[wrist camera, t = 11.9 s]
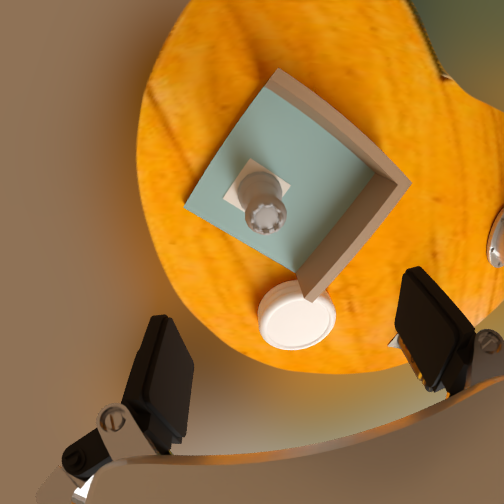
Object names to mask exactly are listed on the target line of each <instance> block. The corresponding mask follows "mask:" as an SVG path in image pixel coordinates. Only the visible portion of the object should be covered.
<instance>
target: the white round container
mask: <svg viewBox="0 0 504 504" xmlns="http://www.w3.org/2000/svg"><path fill="white" fill-rule="evenodd" d="M335 320H336V311H335V307H334V305H333V303H332V300H331V298H330V296H329V294H328V292H327V291H326V290H324V291H323V292H322V293H321V294H320V295H319V296H318V298H317V299H316V300H315V301H314V302H313V303H311V302H309V301H308V300H306V299H304V297H303V294H302V291H301V288H300V285H299V282H298V280H291V281H287V282H283V283H281V284H279V285H277V286H275V287H273V288H272V289H271V290H269V291H268V292H267V293H266V294H265V296H264V297H263V298H262V300H261V302H260V305H259V308H258V323H259V331H260V333H261V335H262V337H263V339H264V340H265V341H266V342H267V343H269V344H270V345H272V346H274V347H276V348H279V349H284V350H299V349H304V348H307V347H310V346H312V345H314V344H316V343H318V342H320V341H321V340H322V339H324V338H325V337H326V336H327V335H328V334H329V332H330V331H331V330H332V328H333V326H334V323H335Z"/></svg>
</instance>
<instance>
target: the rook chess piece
mask: <svg viewBox="0 0 504 504" xmlns="http://www.w3.org/2000/svg"><path fill="white" fill-rule="evenodd" d="M238 200H239V202H240V205H241V207H242V208H243V209H244V210H245V221H246V223H247V225H248V227H249V228H250V229H251V230H253V231H254V232H256V233H259V234H261V235H270V234H272V233H275V232H278V231H279V230H280V229H281V228H282V227H283V225H284V223H285V221H286V219H287V210H286V208H285V205H284V203H283V202H282V188H281V185H280V183H279V181H278V180H277V179H276V178H275V177H274V176H273V175H272V174H269V173H267V172H253V173H251V174H248V175H247V176H246V177H245V178H244V179H243V180H242V181H241V182H240V184H239V187H238Z"/></svg>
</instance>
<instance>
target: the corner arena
mask: <svg viewBox="0 0 504 504" xmlns="http://www.w3.org/2000/svg"><path fill="white" fill-rule="evenodd" d="M253 172H267V173H269V174H272V175H273V176H274V177H275V178H276V179H277V180H278V181H279V183H280V185H281V188H282V202H283V203H284V205H285V208H286V210H287V219H286V221H285V223H284V225H283V227H282V228H281V229H280V230H279V231H278V232H275V233H272V234H270V235H261V234H259V233H256V232H254V231H253V230H251V229H250V228H249V227H248V225H247V223H246V221H245V210H244V209H243V208H242V207H241V205H240V202H239V200H238V187H239V184H240V182H241V181H242V180H243V179H244V178H245V177H246V176H247V175H248V174H251V173H253ZM411 184H412V182H411V181H410V180H409V179H408V178H407V177H406V176H405V175H404V174H403V172H402V171H401V170H400V169H399V168H398V167H397V166H396V165H395V164H394V163H393V162H392V161H391V160H390V159H389V158H388V157H387V156H386V155H385V154H384V153H383V152H382V151H381V150H380V149H379V148H378V147H377V146H376V145H375V144H374V143H373V142H372V141H371V140H370V139H369V138H368V137H367V136H366V135H365V134H363V133H362V132H361V131H360V130H359V129H358V128H357V127H356V126H355V125H353V124H352V123H351V122H350V121H349V120H348V119H347V118H345V117H344V116H343V115H342V114H341V113H339V112H338V111H337V110H336V109H335V108H333V107H332V106H331V105H330V104H328V103H327V102H326V101H325V100H323V99H322V98H321V97H319V96H318V95H317V94H315V93H314V92H313V91H311V90H310V89H309V88H307V87H306V86H305V85H303V84H302V83H300V82H299V81H298V80H296V79H295V78H293V77H292V76H290V75H289V74H287V73H286V72H284V71H283V70H281V69H280V68H278V69H277V70H276V71H275V73H274V74H273V75H272V76H271V78H270V79H269V80H268V82H267V83H266V84H265V86H264V87H263V88H262V90H261V91H260V92H259V94H258V95H257V96H256V98H255V99H254V100H253V102H252V103H251V104H250V106H249V107H248V109H247V110H246V111H245V113H244V114H243V116H242V117H241V118H240V120H239V121H238V123H237V124H236V125H235V127H234V128H233V130H232V131H231V133H230V134H229V136H228V137H227V139H226V140H225V142H224V143H223V145H222V146H221V148H220V149H219V151H218V152H217V154H216V155H215V157H214V158H213V160H212V161H211V163H210V164H209V166H208V168H207V169H206V171H205V172H204V174H203V176H202V177H201V179H200V180H199V182H198V184H197V185H196V187H195V189H194V190H193V192H192V193H191V195H190V197H189V199H188V200H187V202H186V204H185V205H184V207H183V208H185V209H187V210H189V211H190V212H192V213H194V214H195V215H197V216H199V217H201V218H202V219H204V220H206V221H208V222H209V223H211V224H213V225H214V226H216V227H218V228H220V229H221V230H223V231H225V232H226V233H228V234H230V235H231V236H233V237H235V238H237V239H238V240H240V241H242V242H243V243H245V244H247V245H249V246H250V247H252V248H254V249H255V250H257V251H259V252H261V253H262V254H264V255H266V256H267V257H269V258H271V259H272V260H274V261H276V262H278V263H279V264H281V265H283V266H284V267H286V268H288V269H289V270H291V271H293V272H295V273H296V276H297V279H298V282H299V285H300V288H301V291H302V294H303V297H304V299H306V300H308V301H309V302H311V303H313V302H314V301H315V300H316V299H317V298H318V296H319V295H320V294H321V293H322V292H323V291H324V290H325V289H326V288H327V287H328V286H329V284H330V283H331V282H332V281H333V280H334V279H335V278H336V277H337V276H338V274H339V273H340V272H341V271H342V270H343V269H344V268H345V266H346V265H347V264H348V263H349V262H350V261H351V260H352V258H353V257H354V256H355V255H356V254H357V253H358V251H359V250H360V249H361V248H362V247H363V245H364V244H365V243H366V242H367V241H368V239H369V238H370V237H371V236H372V234H373V233H374V232H375V231H376V229H377V228H378V227H379V226H380V224H381V223H382V222H383V221H384V219H385V218H386V217H387V216H388V214H389V213H390V212H391V210H392V209H393V208H394V207H395V205H396V204H397V203H398V201H399V200H400V199H401V197H402V196H403V195H404V193H405V192H406V191H407V189H408V188H409V186H410V185H411Z"/></svg>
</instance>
